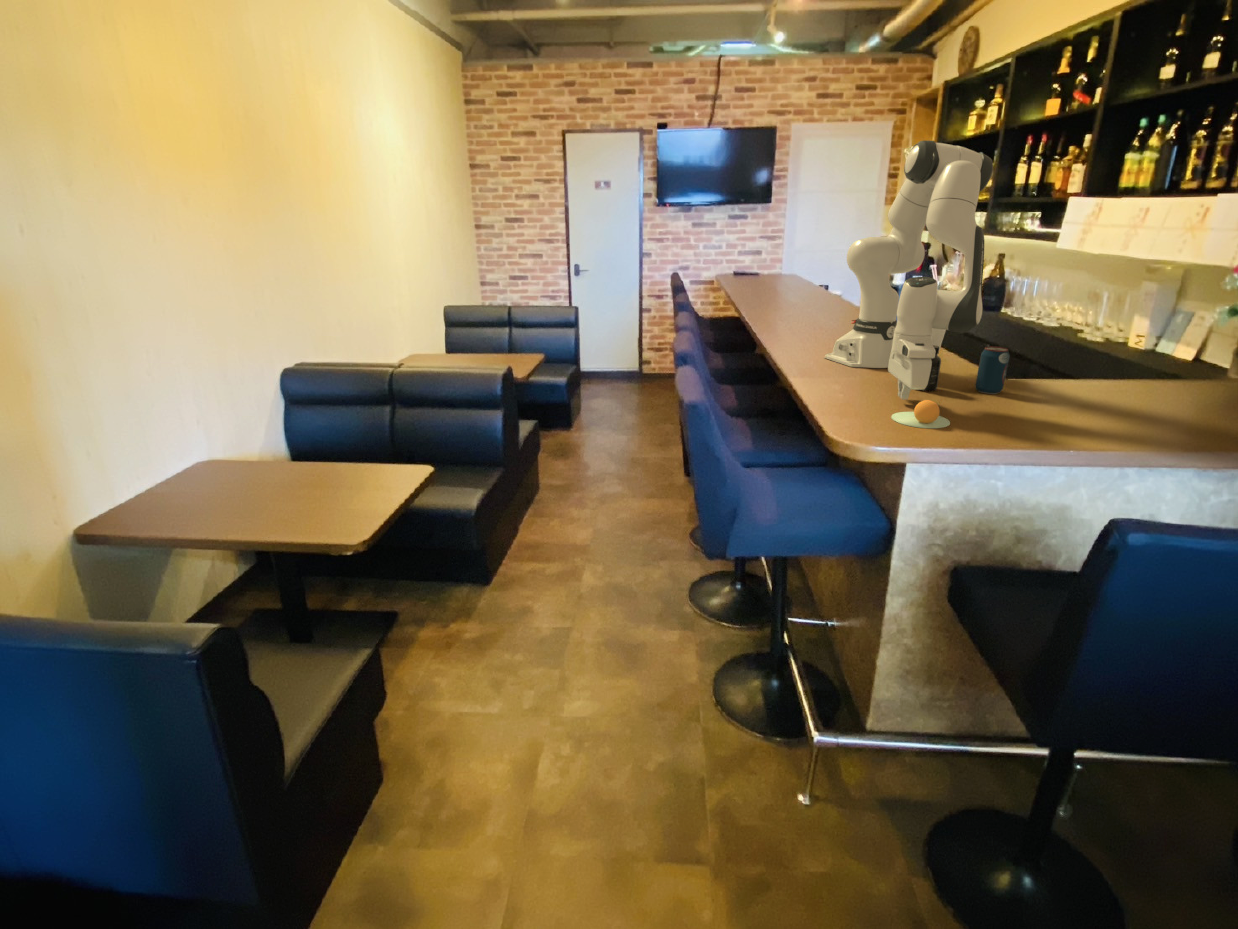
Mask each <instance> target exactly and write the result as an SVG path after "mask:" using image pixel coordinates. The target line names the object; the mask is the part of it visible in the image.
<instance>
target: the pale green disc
mask: <svg viewBox="0 0 1238 929" xmlns="http://www.w3.org/2000/svg"><path fill="white" fill-rule="evenodd" d="M890 418H891V420H892V421H894V422H896V423H898V424H901V425H904V426H907V427H913V428H920V429H942V428H943V429H944V428H946V427H949V426H950V424H951V421H950V420H949V419H948V418H945V416H944V417H943V416H941V415H939V416H938V418H937V419H936V420H935V421H934V422H932V423H921V422H919V421H918V420H917V419H916V418H915V415H914V411H900V412H899V411H898V412H895V413H893V414H891V416H890Z"/></svg>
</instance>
